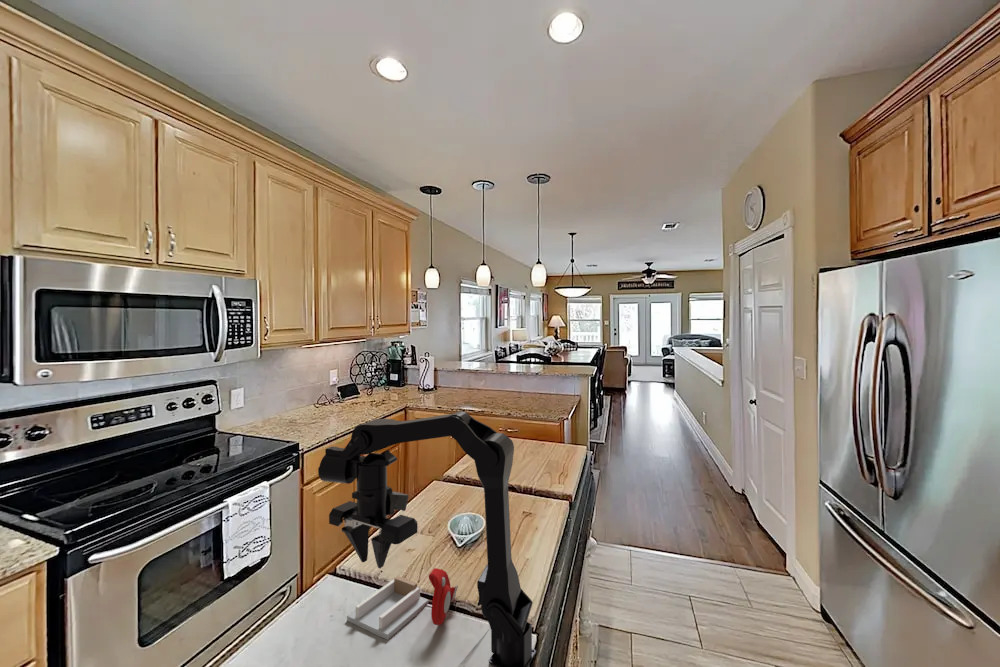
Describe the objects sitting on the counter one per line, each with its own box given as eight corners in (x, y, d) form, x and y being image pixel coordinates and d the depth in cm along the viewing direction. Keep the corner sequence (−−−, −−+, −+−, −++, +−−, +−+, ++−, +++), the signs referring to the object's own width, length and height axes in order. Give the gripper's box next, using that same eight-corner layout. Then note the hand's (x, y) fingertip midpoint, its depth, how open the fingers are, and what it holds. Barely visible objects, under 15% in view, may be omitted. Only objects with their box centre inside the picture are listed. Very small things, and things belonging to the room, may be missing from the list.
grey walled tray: (428, 604, 91) (428, 585, 91) (387, 639, 80) (387, 618, 80) (389, 589, 96) (389, 571, 96) (346, 620, 86) (346, 600, 86)
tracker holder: (441, 638, 81) (440, 585, 81) (419, 634, 82) (419, 582, 82) (461, 599, 93) (461, 553, 92) (442, 596, 94) (442, 550, 94)
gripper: (435, 480, 87) (435, 557, 87) (368, 466, 96) (369, 536, 96) (396, 499, 77) (397, 586, 77) (326, 482, 86) (327, 559, 86)
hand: (372, 564), depth 84 cm, fingers open, 4 cm apart
